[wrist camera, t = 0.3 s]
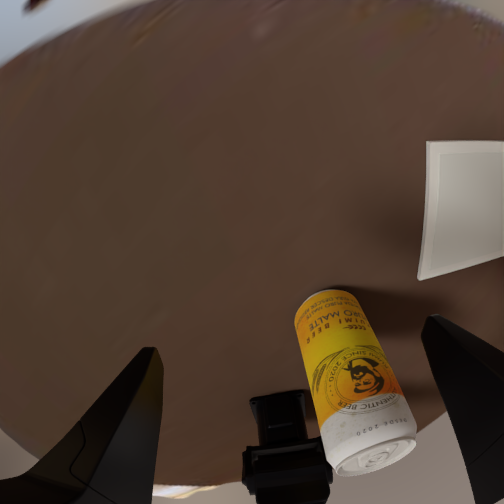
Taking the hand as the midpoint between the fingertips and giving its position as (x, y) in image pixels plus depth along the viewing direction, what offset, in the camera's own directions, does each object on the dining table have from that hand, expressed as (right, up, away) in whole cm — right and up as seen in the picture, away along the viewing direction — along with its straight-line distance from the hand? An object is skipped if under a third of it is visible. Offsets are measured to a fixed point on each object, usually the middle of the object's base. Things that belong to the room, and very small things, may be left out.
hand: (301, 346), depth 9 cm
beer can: (+5, -2, +18) cm, 19 cm away
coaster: (+20, +7, +14) cm, 25 cm away
